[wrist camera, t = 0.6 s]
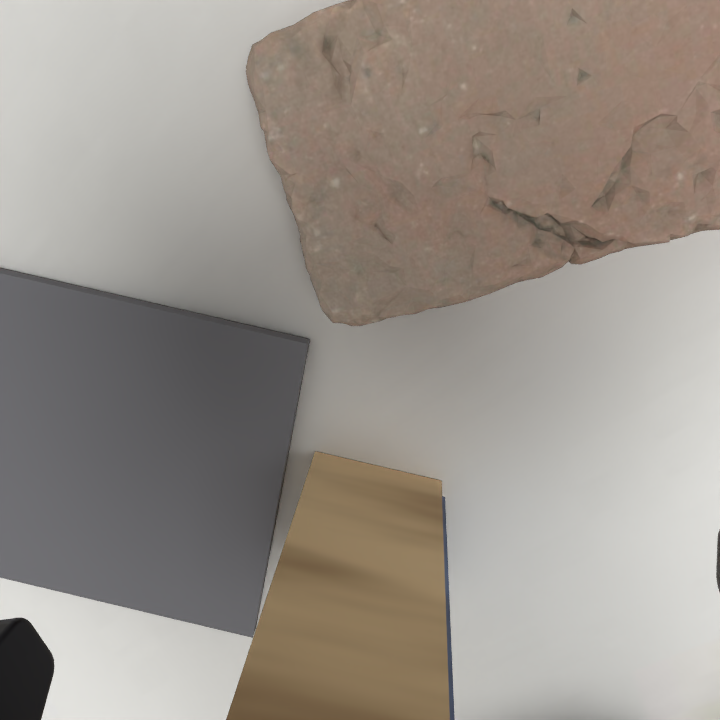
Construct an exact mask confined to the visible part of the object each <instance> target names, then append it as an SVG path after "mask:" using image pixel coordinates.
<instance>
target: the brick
mask: <svg viewBox="0 0 720 720" xmlns="http://www.w3.org/2000/svg"><path fill="white" fill-rule="evenodd" d="M246 69H247V70H246V75H247V80H248V85H249V88H250V91H251V93H252V96H253V98H254V101H255V104H256V107H257V110H258V114H259V120H260V126H261V128H262V130H263V131H264V134H265V140H266V146H267V152H268V155H269V158H270V160H271V162H272V163H273V165H274V166H275V168H276V169H277V171H278V172H279V174H280V176H281V180H282V184H283V187H284V190H285V193H286V197H287V201H288V204H289V206H290V208H291V210H292V211H293V214H294V217H295V220H296V222H297V226H298V229H299V232H300V242H301V246H302V250H303V255H304V258H305V265H306V269H307V271H308V273H309V275H310V278H311V281H312V284H313V286H314V289H315V292H316V294H317V297H318V300H319V303H320V306H321V308H322V311H323V312H324V313H325V314H326V315H327V316H328V318H329V319H330V320H331V321H332V322H333V323H345V324H348V325H351V326H362V325H366V324H370V323H374V322H378V321H381V320H384V319H386V318H391V317H396V316H401V315H409V314H416V313H419V312H421V311H424V310H427V309H431V308H439V307H445V306H449V305H453V304H458V303H462V302H466V301H469V300H472V299H475V298H478V297H481V296H484V295H487V294H490V293H492V292H495V291H497V290H500V289H502V288H504V287H507V286H509V285H512V284H514V283H516V282H520V281H524V280H529V279H534V278H540V277H543V276H545V275H547V274H549V273H551V272H553V271H555V270H557V269H559V268H561V267H563V266H564V265H565V264H566V263H567V262H568V261H569V262H570V263H571V264H583V263H586V262H590V261H593V260H596V259H599V258H601V257H603V256H606V255H608V254H610V253H615V252H619V251H622V250H623V249H627V248H632V247H637V246H644V245H652V244H659V243H666V242H669V241H670V240H673V239H677V238H681V237H685V236H688V235H690V234H692V233H696V232H699V231H705V230H719V229H720V0H349V1H346V2H342V3H339V4H336V5H333V6H330V7H328V8H325V9H322V10H319V11H317V12H314V13H312V14H311V15H309V16H307V17H306V18H304V19H303V20H301V21H299V22H298V23H296V24H294V25H292V26H289V27H286V28H283V29H281V30H278V31H275V32H272V33H270V34H269V35H267V36H266V37H265V38H263V39H262V40H261V41H259V42H257V43H255V44H253V45H252V48H251V51H250V54H249V57H248V61H247V66H246Z"/></svg>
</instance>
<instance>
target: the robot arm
mask: <svg viewBox="0 0 720 720" xmlns="http://www.w3.org/2000/svg"><path fill="white" fill-rule="evenodd" d="M716 578H717V584H718V589H719V592H720V531H719V533H718V544H717V572H716ZM53 673H54V659H53V656H52V654H51V652H50V650H49V649H48V647H47V646H46V645H45V643H44V642H43V640H42V639H41V637H40V636H39V634H38V633H37V631H36V630H35V628H34V627H33V626H32V624H31V623H30V622H29V621H28V620H26V619H24V618H13V619H6V620H0V720H41V718H42V714H43V710H44V707H45V703H46V699H47V696H48V692H49V688H50V685H51V681H52V677H53Z"/></svg>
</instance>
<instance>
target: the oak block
mask: <svg viewBox="0 0 720 720" xmlns="http://www.w3.org/2000/svg"><path fill="white" fill-rule="evenodd" d="M226 720H454V699H453V675H452V652H451V628H450V605H449V581H448V558H447V534H446V511H445V497H442V482H441V481H440V480H436V479H432V478H428V477H423V476H419V475H415V474H410V473H406V472H402V471H398V470H393V469H389V468H385V467H380V466H376V465H372V464H368V463H363V462H359V461H355V460H350V459H346V458H342V457H337V456H333V455H329V454H325V453H320V452H316V451H315V453H314V456H313V459H312V462H311V465H310V468H309V471H308V474H307V477H306V480H305V483H304V486H303V489H302V492H301V496H300V499H299V502H298V505H297V508H296V511H295V514H294V517H293V520H292V523H291V526H290V529H289V532H288V535H287V538H286V541H285V544H284V547H283V550H282V553H281V556H280V559H279V562H278V565H277V568H276V571H275V574H274V577H273V580H272V583H271V586H270V589H269V592H268V595H267V598H266V601H265V604H264V607H263V610H262V613H261V616H260V619H259V622H258V625H257V628H256V631H255V634H254V637H253V640H252V643H251V646H250V649H249V652H248V655H247V658H246V661H245V664H244V667H243V671H242V674H241V677H240V680H239V683H238V686H237V689H236V692H235V695H234V698H233V701H232V704H231V707H230V710H229V713H228V716H227V719H226Z"/></svg>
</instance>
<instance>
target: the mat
mask: <svg viewBox="0 0 720 720" xmlns="http://www.w3.org/2000/svg"><path fill="white" fill-rule="evenodd" d="M309 341H310V339H307V338H303V337H299V336H294V335H290V334H285V333H281V332H277V331H272V330H268V329H264V328H259V327H255V326H251V325H246V324H242V323H238V322H233V321H229V320H225V319H220V318H216V317H212V316H207V315H203V314H199V313H194V312H190V311H185V310H181V309H177V308H172V307H168V306H164V305H159V304H155V303H151V302H146V301H142V300H138V299H133V298H129V297H125V296H120V295H116V294H112V293H107V292H103V291H99V290H94V289H90V288H86V287H81V286H77V285H72V284H68V283H64V282H59V281H55V280H51V279H46V278H42V277H38V276H33V275H29V274H25V273H20V272H16V271H12V270H7V269H3V268H0V577H1V578H5V579H9V580H13V581H17V582H22V583H26V584H30V585H34V586H38V587H43V588H47V589H51V590H55V591H59V592H64V593H68V594H72V595H76V596H80V597H85V598H89V599H93V600H97V601H101V602H105V603H110V604H114V605H118V606H122V607H126V608H131V609H135V610H139V611H143V612H147V613H152V614H156V615H160V616H164V617H168V618H173V619H177V620H181V621H185V622H189V623H194V624H198V625H202V626H206V627H210V628H215V629H219V630H223V631H227V632H231V633H236V634H240V635H244V636H248V637H252V638H253V635H254V632H255V629H256V623H257V618H258V613H259V607H260V602H261V597H262V591H263V586H264V581H265V575H266V570H267V565H268V559H269V554H270V549H271V543H272V538H273V533H274V527H275V522H276V517H277V511H278V506H279V501H280V496H281V490H282V485H283V480H284V474H285V469H286V464H287V458H288V453H289V448H290V442H291V437H292V432H293V426H294V421H295V416H296V410H297V405H298V400H299V394H300V389H301V384H302V378H303V373H304V368H305V362H306V357H307V352H308V346H309Z"/></svg>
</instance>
